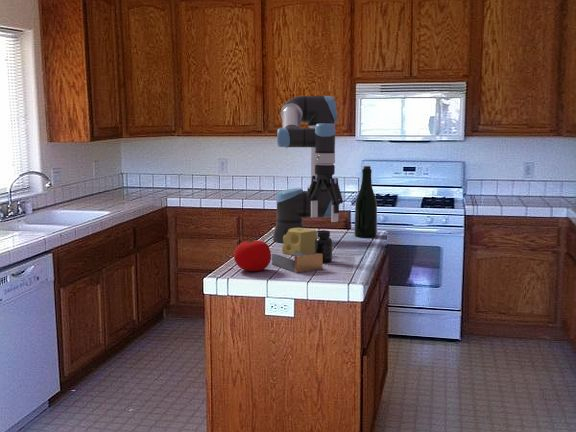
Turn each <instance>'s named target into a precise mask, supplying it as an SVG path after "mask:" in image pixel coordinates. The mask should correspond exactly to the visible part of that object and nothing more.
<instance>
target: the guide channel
mask: <svg viewBox="0 0 576 432" xmlns="http://www.w3.org/2000/svg"><path fill="white" fill-rule="evenodd" d="M293 256H294V257H293V258H294V259H291V258H289V257H285V256H283V255H280V254H278V253H277V254H276V253H271V265H272V266H275V267H277V268H281V269H284V270H285V271H289V272H291V273H294V274H301V273H308V272H315V271H316V272H317V271H322V270H323V264H324V263H323V254H322V253H317V254H315V253H314V254H309V255H308V254H305V253H302V252H299V251H294V255H293Z"/></svg>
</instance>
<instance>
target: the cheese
mask: <svg viewBox="0 0 576 432" xmlns="http://www.w3.org/2000/svg"><path fill="white" fill-rule="evenodd" d="M317 232H318V230H316V229H309V228H292V229H289V230H288V232H287V234H286V235H284V236H283V242H284V243H283V245H282V246H281V251H282V254H284V255H291V256H294V251H299V252H302V253H305V254H308V255H309V254H315V239H316V238H318V236H317Z"/></svg>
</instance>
